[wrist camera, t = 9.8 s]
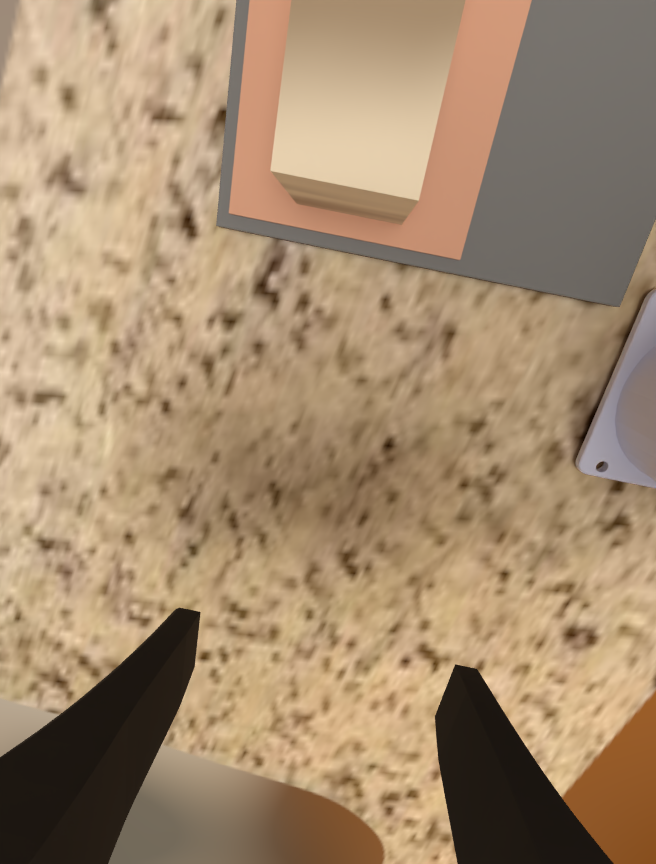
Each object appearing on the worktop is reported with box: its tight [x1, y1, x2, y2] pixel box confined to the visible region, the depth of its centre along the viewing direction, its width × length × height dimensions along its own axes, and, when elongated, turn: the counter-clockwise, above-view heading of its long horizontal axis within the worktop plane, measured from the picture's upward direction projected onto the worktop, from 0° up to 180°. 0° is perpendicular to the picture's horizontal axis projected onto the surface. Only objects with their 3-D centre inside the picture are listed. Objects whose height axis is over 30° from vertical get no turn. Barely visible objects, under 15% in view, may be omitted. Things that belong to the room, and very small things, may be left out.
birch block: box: [270, 0, 465, 225], centre depth 12 cm, size 7×4×5 cm, turn 169°
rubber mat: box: [216, 0, 656, 307], centre depth 14 cm, size 16×16×1 cm
